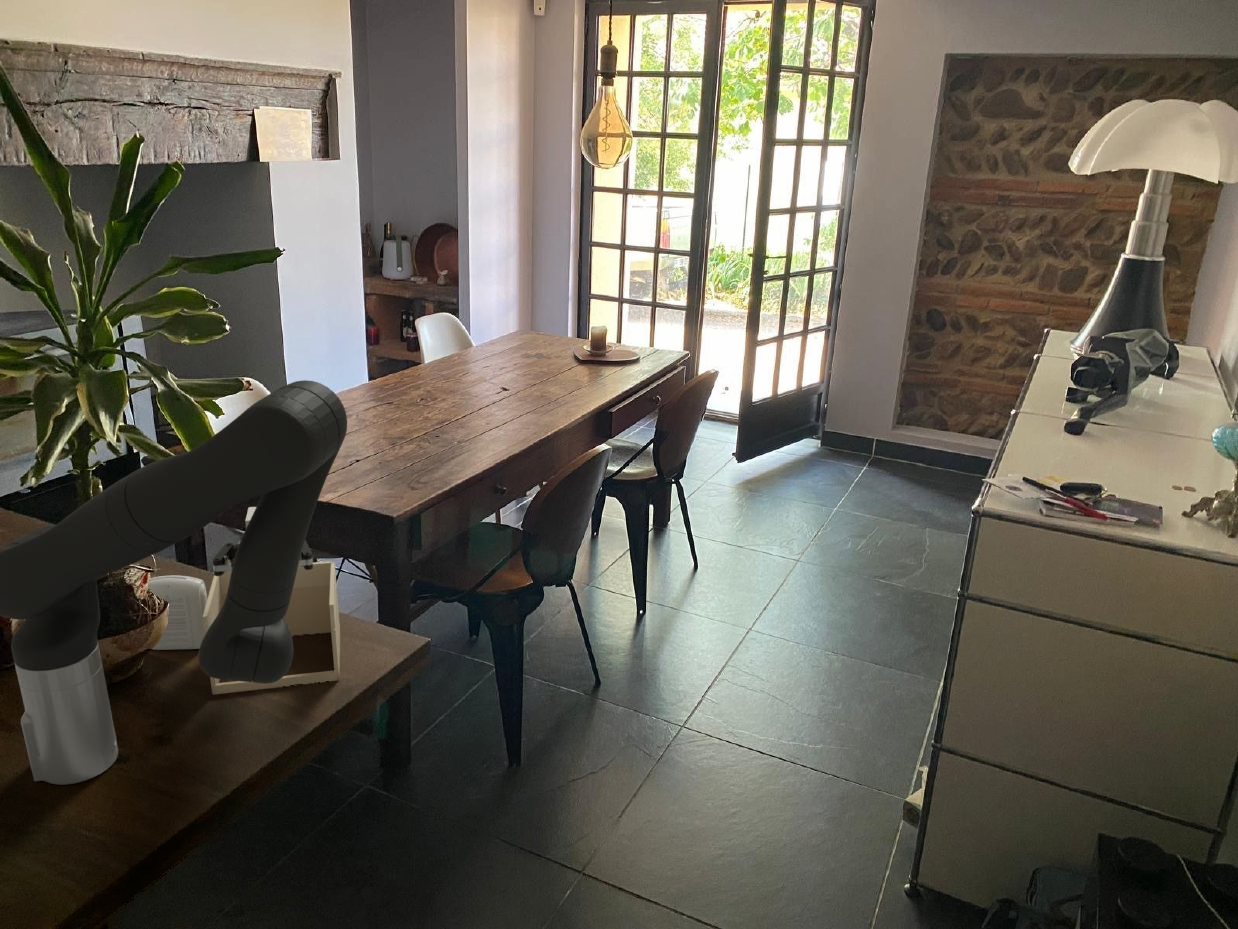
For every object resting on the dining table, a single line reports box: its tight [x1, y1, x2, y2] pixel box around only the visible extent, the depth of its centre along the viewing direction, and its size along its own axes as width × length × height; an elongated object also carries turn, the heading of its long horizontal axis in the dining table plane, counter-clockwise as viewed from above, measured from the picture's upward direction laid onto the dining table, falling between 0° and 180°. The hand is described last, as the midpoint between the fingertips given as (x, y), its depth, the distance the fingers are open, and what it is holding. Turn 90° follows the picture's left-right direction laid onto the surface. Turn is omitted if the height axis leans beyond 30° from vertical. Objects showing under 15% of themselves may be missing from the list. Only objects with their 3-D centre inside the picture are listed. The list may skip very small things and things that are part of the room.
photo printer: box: [148, 574, 208, 651], centre depth 148 cm, size 10×4×12 cm, turn 98°
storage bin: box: [203, 560, 341, 695], centre depth 145 cm, size 18×15×13 cm
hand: (268, 535), depth 142 cm, fingers closed on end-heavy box, 5 cm apart
